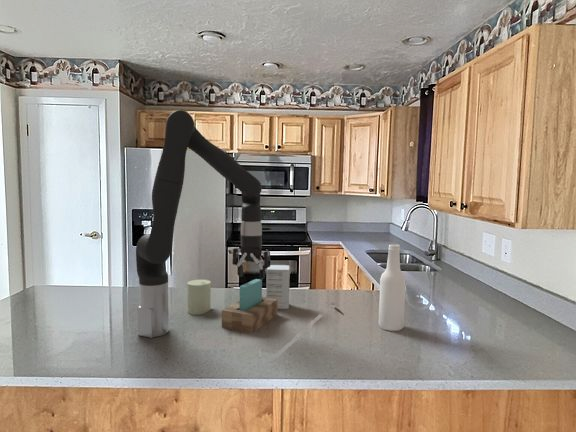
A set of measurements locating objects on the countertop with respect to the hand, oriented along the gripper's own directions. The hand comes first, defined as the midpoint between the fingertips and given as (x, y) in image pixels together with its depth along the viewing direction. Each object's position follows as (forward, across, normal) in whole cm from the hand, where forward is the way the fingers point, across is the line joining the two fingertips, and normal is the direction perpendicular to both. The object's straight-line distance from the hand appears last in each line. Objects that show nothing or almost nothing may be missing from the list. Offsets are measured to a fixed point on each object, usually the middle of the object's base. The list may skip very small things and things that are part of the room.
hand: (251, 277), depth 144 cm
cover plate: (+16, 0, 0) cm, 16 cm away
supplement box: (+17, +1, +21) cm, 27 cm away
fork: (+18, +23, +29) cm, 42 cm away
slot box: (+17, 0, 0) cm, 17 cm away
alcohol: (+17, +47, +18) cm, 53 cm away
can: (+17, -25, +3) cm, 30 cm away
